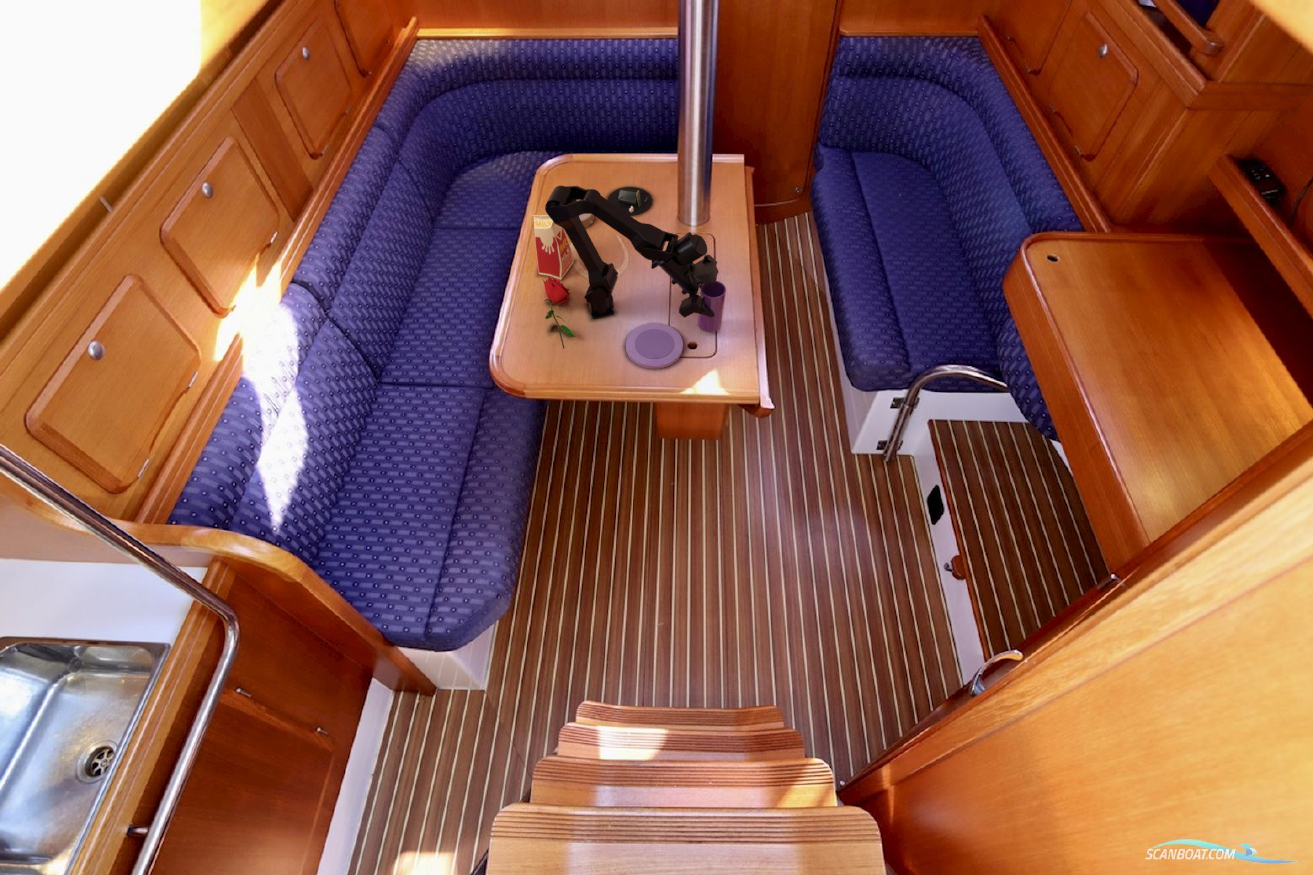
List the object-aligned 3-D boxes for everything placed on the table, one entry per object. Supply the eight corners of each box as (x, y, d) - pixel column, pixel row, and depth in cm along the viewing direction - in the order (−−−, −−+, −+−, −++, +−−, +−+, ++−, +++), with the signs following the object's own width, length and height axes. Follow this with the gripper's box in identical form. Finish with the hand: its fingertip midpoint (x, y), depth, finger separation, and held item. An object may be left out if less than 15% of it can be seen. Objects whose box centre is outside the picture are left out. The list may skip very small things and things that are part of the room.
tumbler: (693, 318, 184) (696, 284, 173) (714, 311, 186) (718, 277, 175) (704, 335, 181) (707, 301, 170) (725, 327, 182) (730, 293, 171)
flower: (571, 328, 170) (553, 260, 188) (542, 346, 172) (527, 278, 190) (590, 347, 177) (571, 280, 195) (562, 364, 179) (546, 297, 197)
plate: (636, 375, 176) (636, 371, 174) (618, 334, 184) (618, 330, 183) (691, 360, 179) (691, 356, 178) (671, 320, 187) (671, 316, 186)
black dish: (601, 210, 215) (600, 196, 210) (615, 184, 223) (615, 170, 218) (644, 219, 212) (644, 205, 208) (657, 192, 220) (657, 178, 216)
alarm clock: (564, 225, 206) (552, 191, 211) (565, 236, 210) (553, 202, 216) (598, 218, 208) (585, 184, 213) (598, 229, 212) (585, 195, 218)
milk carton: (574, 261, 201) (567, 206, 184) (562, 280, 196) (553, 225, 180) (547, 254, 203) (537, 199, 186) (534, 273, 198) (524, 218, 181)
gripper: (693, 280, 159) (732, 320, 167) (708, 232, 169) (744, 272, 177) (661, 298, 167) (700, 335, 175) (677, 251, 177) (714, 288, 185)
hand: (716, 307), depth 177 cm, fingers closed on tumbler, 7 cm apart
